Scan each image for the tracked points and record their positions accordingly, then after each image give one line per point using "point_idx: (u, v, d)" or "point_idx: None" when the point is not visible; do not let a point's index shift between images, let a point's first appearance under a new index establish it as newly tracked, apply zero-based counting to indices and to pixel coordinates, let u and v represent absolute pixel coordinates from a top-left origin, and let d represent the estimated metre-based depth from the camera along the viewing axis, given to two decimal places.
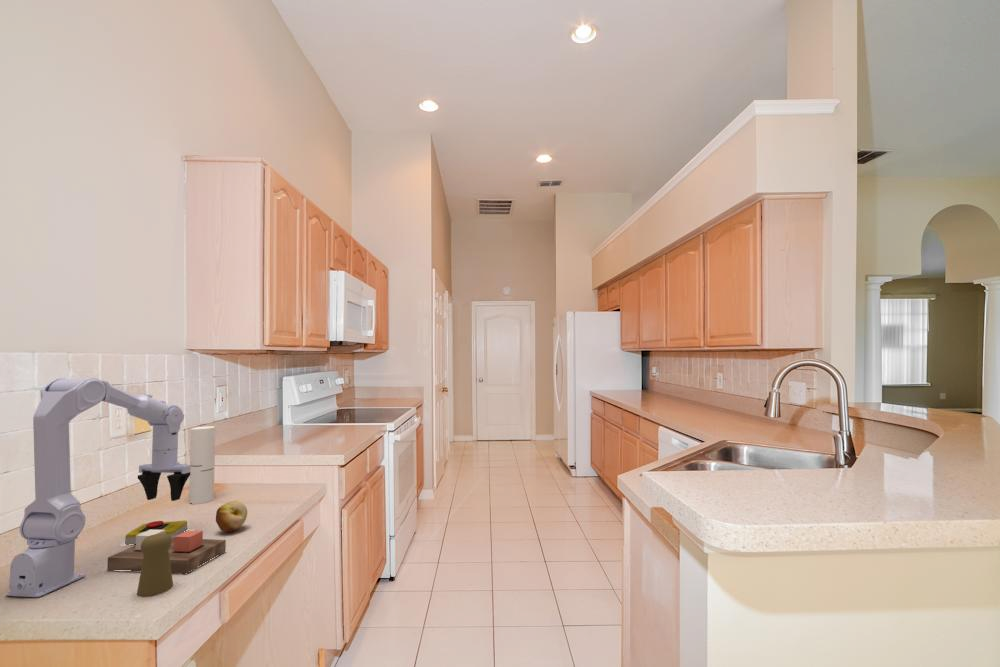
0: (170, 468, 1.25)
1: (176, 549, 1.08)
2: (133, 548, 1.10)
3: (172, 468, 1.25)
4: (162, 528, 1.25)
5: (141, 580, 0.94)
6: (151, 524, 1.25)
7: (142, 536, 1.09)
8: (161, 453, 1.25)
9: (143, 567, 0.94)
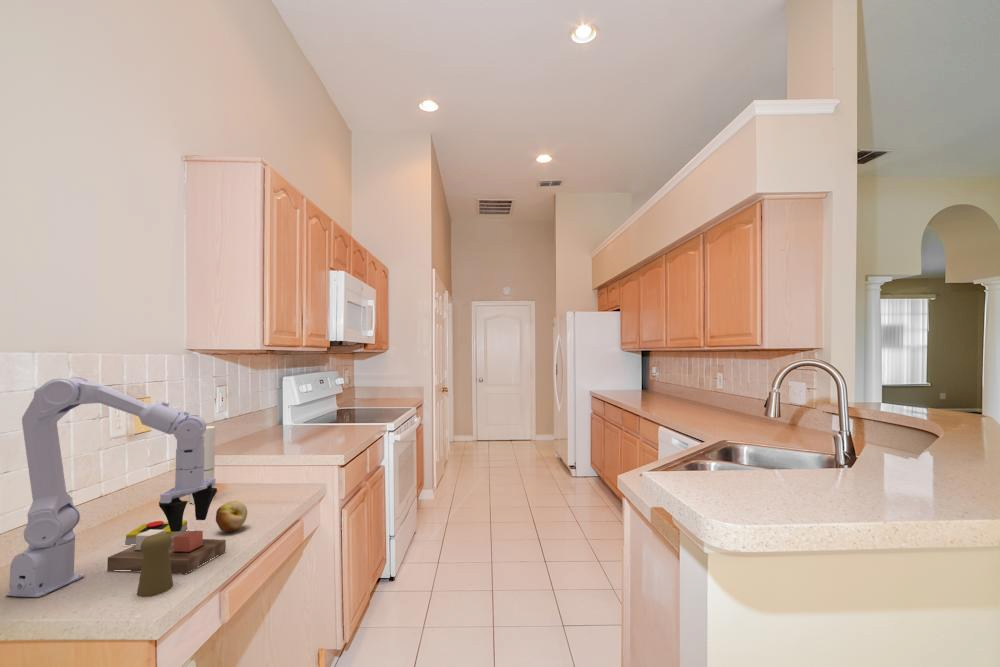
0: None
1: (176, 549, 1.08)
2: (133, 548, 1.10)
3: None
4: (162, 528, 1.25)
5: (141, 580, 0.94)
6: (151, 524, 1.25)
7: (142, 536, 1.09)
8: None
9: (143, 567, 0.94)
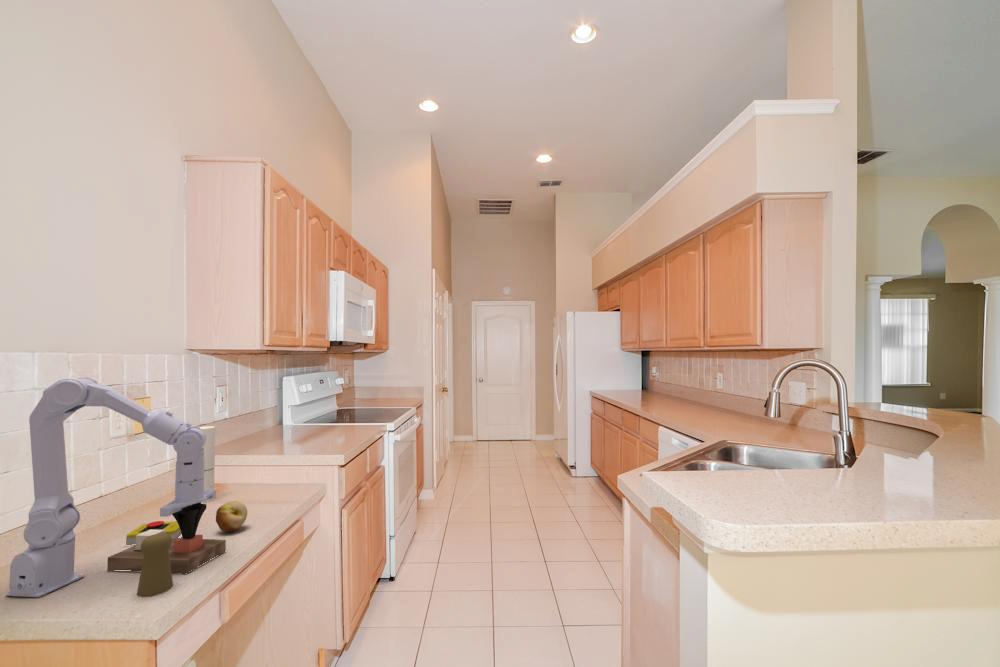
0: None
1: None
2: (133, 548, 1.10)
3: None
4: (163, 528, 1.25)
5: (141, 580, 0.94)
6: (152, 524, 1.25)
7: (142, 536, 1.09)
8: None
9: (143, 567, 0.94)
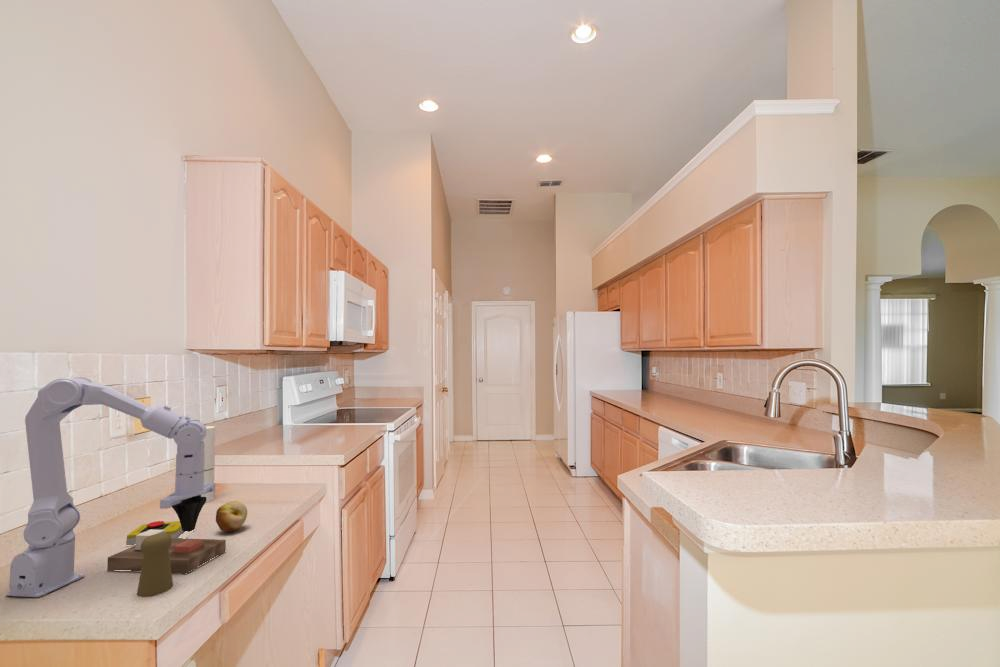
0: None
1: None
2: (133, 548, 1.10)
3: None
4: (163, 528, 1.25)
5: (141, 580, 0.94)
6: (152, 524, 1.24)
7: (142, 536, 1.09)
8: None
9: (143, 567, 0.94)
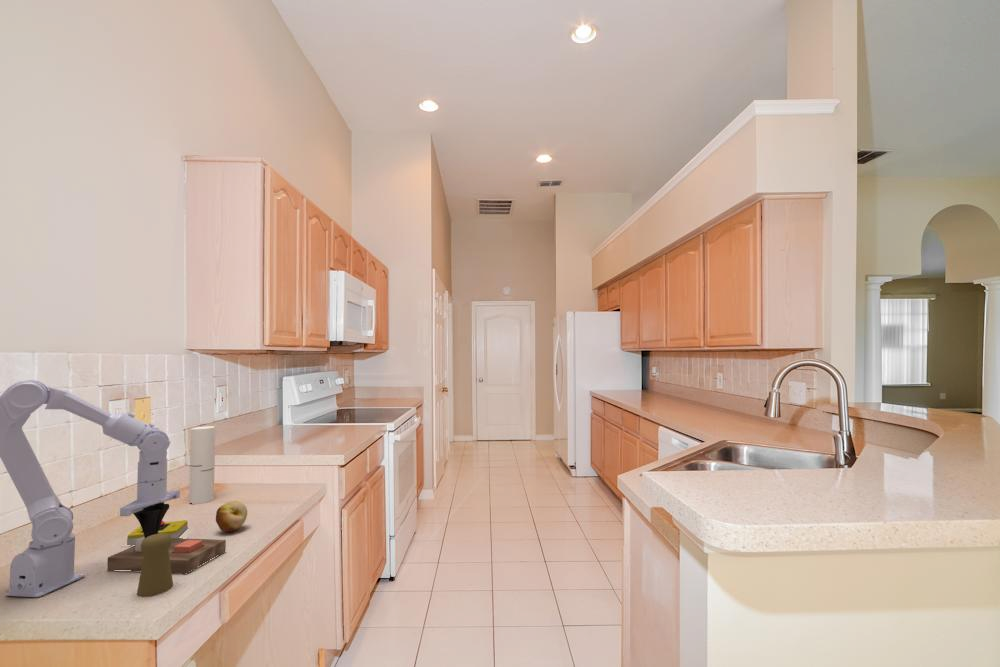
0: None
1: None
2: (133, 548, 1.10)
3: None
4: (164, 528, 1.25)
5: (141, 580, 0.94)
6: None
7: (142, 541, 1.09)
8: None
9: (143, 567, 0.94)
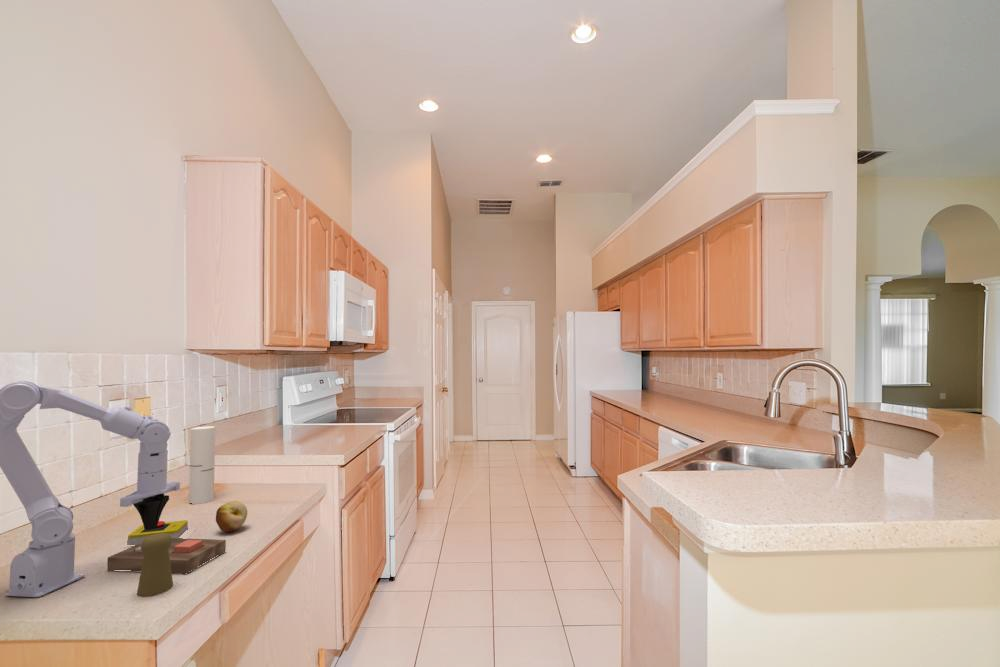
0: None
1: None
2: (133, 548, 1.10)
3: None
4: (165, 528, 1.25)
5: (141, 580, 0.94)
6: None
7: None
8: None
9: (143, 567, 0.94)
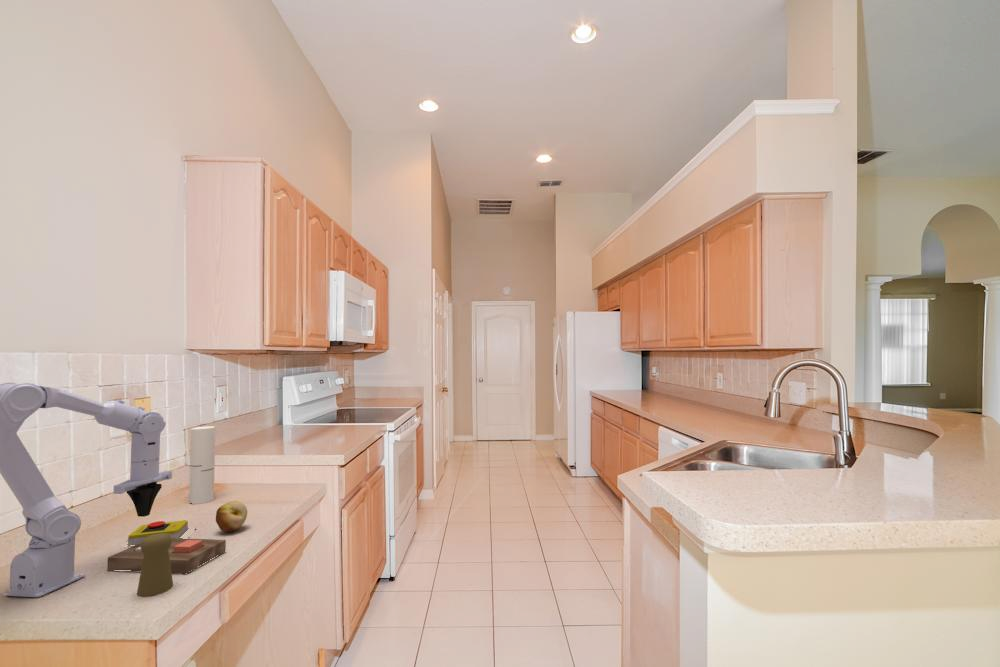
0: None
1: None
2: (133, 548, 1.10)
3: None
4: (165, 528, 1.25)
5: (141, 580, 0.94)
6: (153, 524, 1.24)
7: None
8: None
9: (143, 567, 0.94)
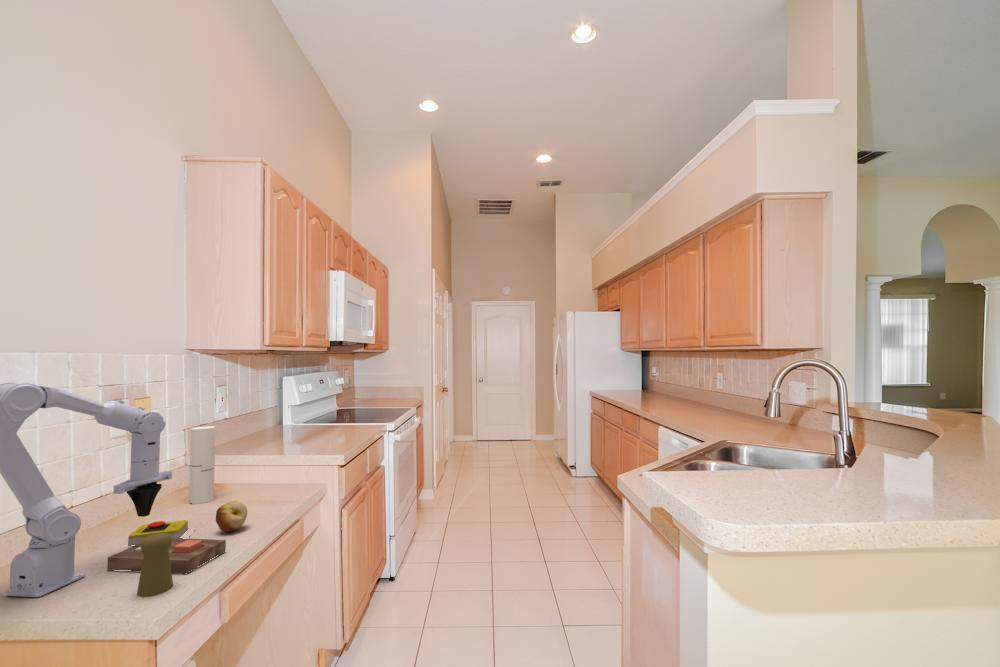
0: None
1: None
2: (133, 548, 1.10)
3: None
4: (165, 528, 1.25)
5: (141, 580, 0.94)
6: (153, 524, 1.24)
7: None
8: None
9: (143, 567, 0.94)
